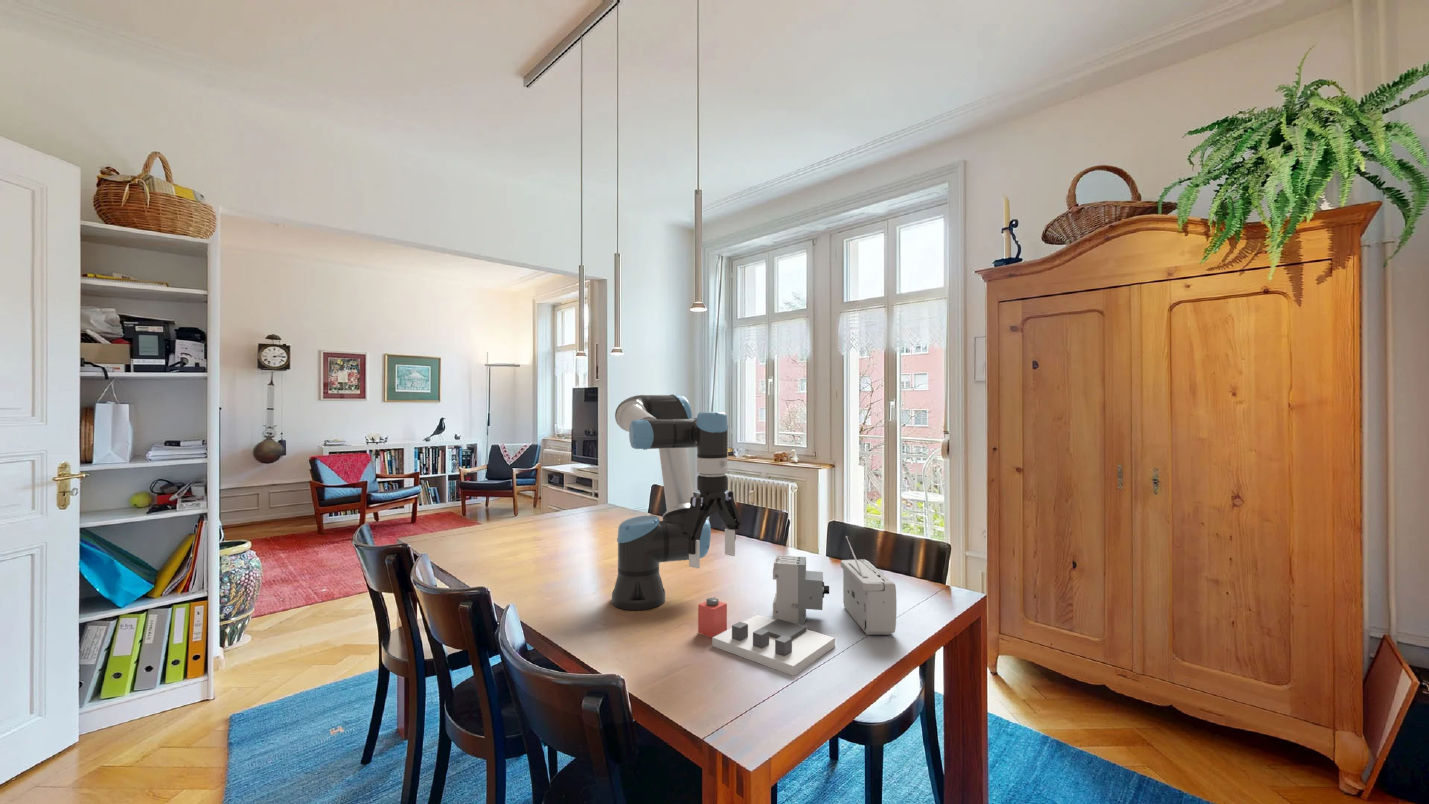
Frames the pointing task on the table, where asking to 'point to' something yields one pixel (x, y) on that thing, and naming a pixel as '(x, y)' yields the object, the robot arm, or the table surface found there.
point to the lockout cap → (712, 617)
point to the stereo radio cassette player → (869, 596)
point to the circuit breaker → (796, 589)
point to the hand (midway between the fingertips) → (712, 561)
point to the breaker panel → (774, 643)
